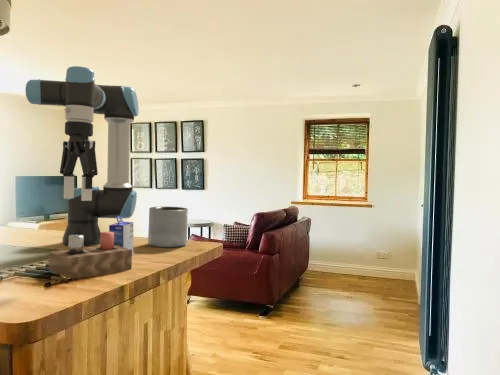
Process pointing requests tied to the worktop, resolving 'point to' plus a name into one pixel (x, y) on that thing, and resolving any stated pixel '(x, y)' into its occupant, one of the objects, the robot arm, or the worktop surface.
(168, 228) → the planter
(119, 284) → the worktop surface
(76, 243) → the grey plug
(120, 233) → the ink cartridge box
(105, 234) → the red plug
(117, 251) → the walnut block
